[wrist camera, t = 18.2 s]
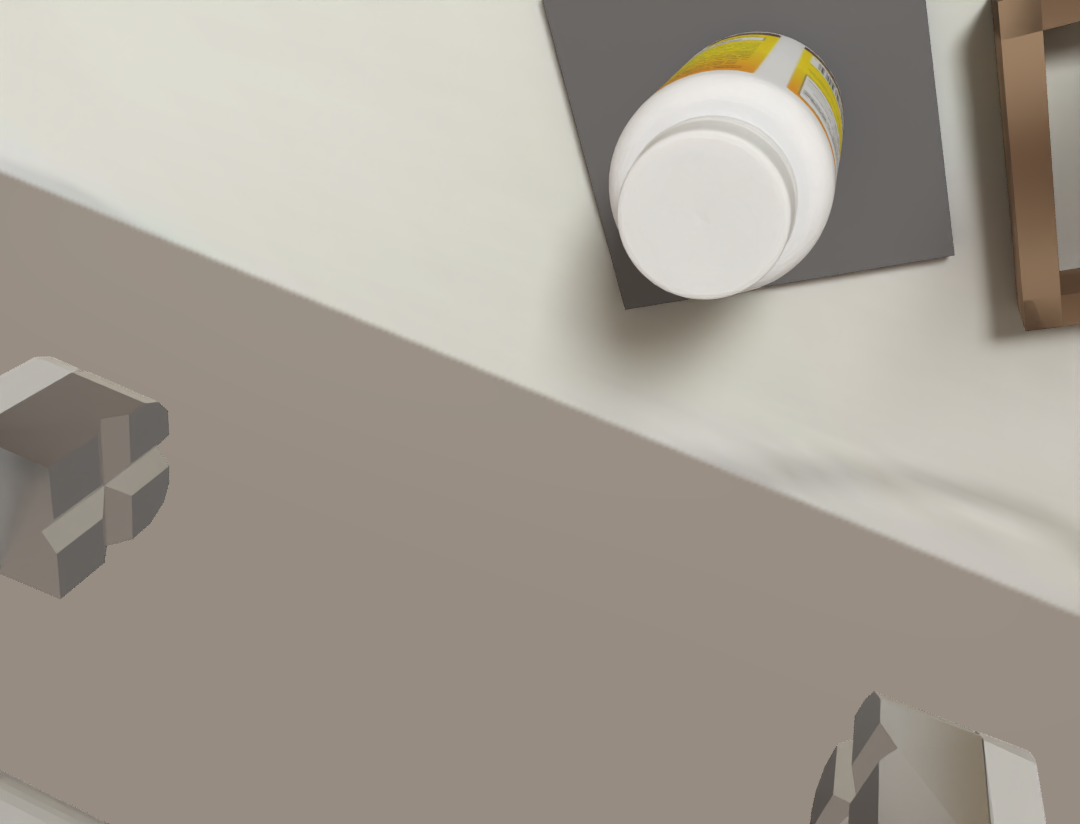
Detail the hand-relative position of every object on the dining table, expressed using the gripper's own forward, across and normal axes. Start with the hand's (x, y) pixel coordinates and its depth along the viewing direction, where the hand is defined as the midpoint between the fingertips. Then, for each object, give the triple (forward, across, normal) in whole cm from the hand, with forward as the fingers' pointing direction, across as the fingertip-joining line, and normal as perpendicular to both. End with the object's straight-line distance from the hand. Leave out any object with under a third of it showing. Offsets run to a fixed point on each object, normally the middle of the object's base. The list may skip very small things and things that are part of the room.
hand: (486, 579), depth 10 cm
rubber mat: (+24, 0, 0) cm, 24 cm away
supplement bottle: (+24, 0, 0) cm, 24 cm away
